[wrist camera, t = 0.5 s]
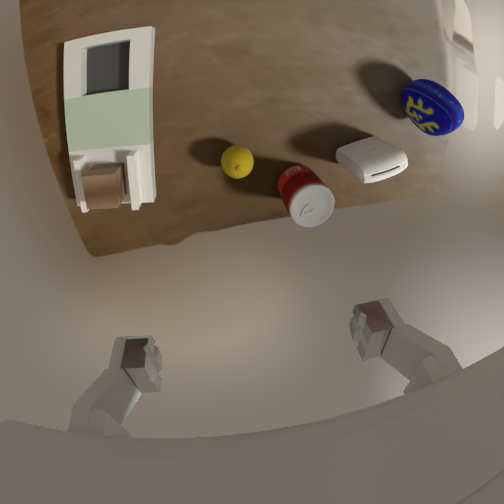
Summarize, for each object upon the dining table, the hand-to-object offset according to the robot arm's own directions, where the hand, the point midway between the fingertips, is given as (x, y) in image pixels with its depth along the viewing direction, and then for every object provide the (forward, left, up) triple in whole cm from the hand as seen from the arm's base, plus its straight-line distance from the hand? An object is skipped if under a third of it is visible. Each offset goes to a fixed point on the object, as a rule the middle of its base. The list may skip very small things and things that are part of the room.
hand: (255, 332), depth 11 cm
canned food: (+11, +15, -45) cm, 49 cm away
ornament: (-10, +38, -45) cm, 60 cm away
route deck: (-2, -20, -45) cm, 49 cm away
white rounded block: (+3, +27, -45) cm, 53 cm away
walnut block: (+9, -20, -42) cm, 47 cm away
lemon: (+6, +3, -45) cm, 46 cm away
